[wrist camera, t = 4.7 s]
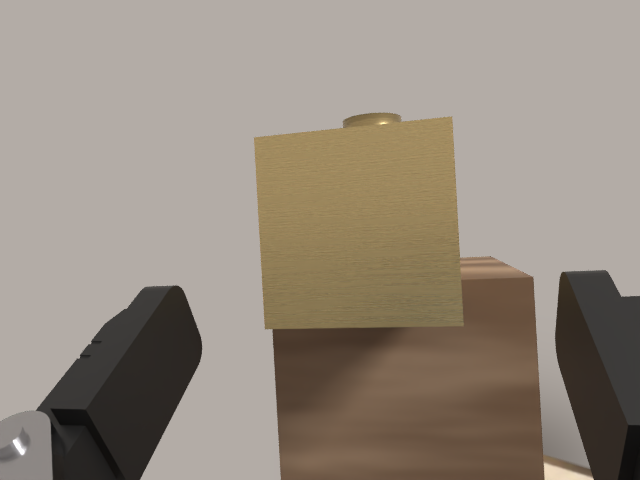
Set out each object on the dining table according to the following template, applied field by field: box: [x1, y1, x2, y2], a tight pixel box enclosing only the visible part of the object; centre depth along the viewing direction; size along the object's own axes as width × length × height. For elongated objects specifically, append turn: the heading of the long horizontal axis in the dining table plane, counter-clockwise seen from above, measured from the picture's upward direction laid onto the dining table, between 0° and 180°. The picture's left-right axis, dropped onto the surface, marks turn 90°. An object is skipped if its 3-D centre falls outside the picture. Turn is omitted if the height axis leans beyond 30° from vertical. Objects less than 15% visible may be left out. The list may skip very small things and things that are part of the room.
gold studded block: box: [254, 113, 464, 329], centre depth 22 cm, size 24×4×5 cm, turn 167°
